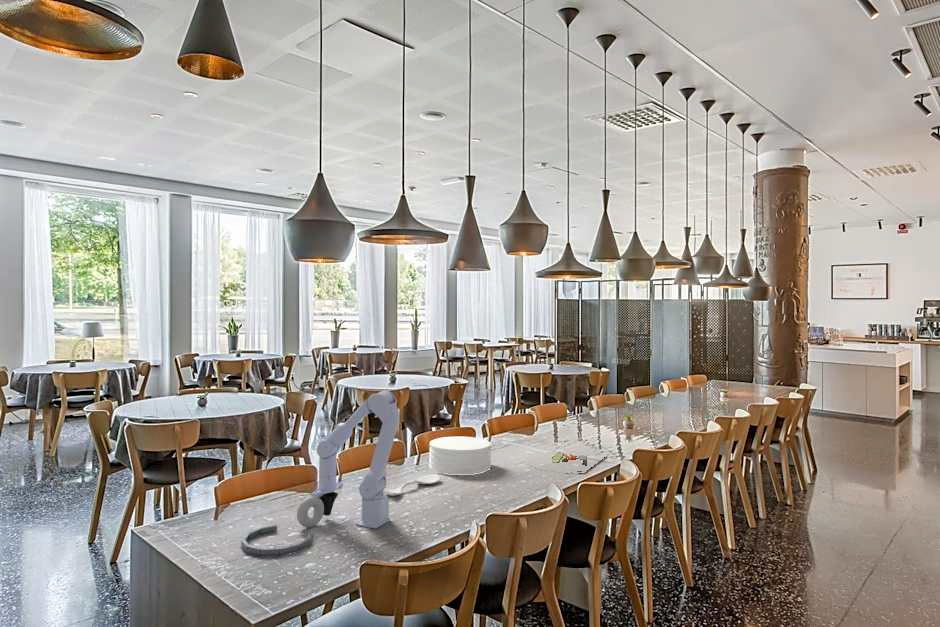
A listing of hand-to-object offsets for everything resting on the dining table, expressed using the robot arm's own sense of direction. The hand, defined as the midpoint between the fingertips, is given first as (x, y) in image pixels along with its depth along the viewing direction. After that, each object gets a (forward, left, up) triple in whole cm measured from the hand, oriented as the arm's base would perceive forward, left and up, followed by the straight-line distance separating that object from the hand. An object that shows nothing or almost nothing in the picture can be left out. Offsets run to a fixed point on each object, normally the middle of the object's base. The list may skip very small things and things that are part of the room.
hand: (326, 514), depth 202 cm
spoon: (-43, +8, -2) cm, 44 cm away
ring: (+25, 0, -1) cm, 25 cm away
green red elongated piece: (-118, +52, -2) cm, 129 cm away
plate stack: (-82, +11, -2) cm, 82 cm away
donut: (+8, 0, -2) cm, 9 cm away
